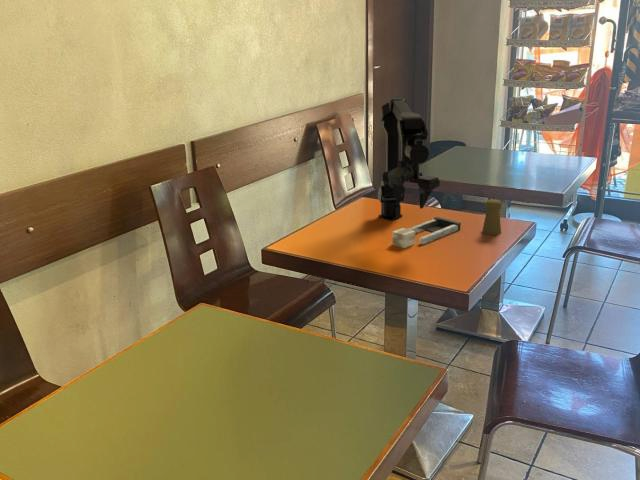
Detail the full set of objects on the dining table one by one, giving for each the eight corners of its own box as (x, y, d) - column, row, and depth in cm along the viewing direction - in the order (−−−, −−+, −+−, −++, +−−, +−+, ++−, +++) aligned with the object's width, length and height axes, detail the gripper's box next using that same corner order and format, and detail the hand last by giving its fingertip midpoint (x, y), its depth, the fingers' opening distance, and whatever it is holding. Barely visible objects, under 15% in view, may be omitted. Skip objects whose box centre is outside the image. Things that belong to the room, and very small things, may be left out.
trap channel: (399, 237, 205) (399, 230, 204) (436, 223, 217) (436, 216, 217) (423, 244, 198) (423, 237, 197) (460, 229, 210) (460, 222, 210)
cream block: (392, 244, 199) (392, 231, 198) (402, 240, 202) (402, 227, 201) (404, 248, 196) (404, 235, 194) (414, 244, 199) (414, 231, 197)
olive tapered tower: (501, 235, 204) (503, 203, 200) (482, 234, 205) (484, 202, 201) (500, 229, 209) (502, 197, 206) (481, 228, 211) (483, 197, 207)
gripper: (370, 157, 192) (370, 206, 198) (418, 165, 179) (417, 217, 185) (393, 151, 200) (393, 198, 205) (441, 159, 187) (440, 208, 192)
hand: (409, 205), depth 196 cm, fingers open, 9 cm apart
